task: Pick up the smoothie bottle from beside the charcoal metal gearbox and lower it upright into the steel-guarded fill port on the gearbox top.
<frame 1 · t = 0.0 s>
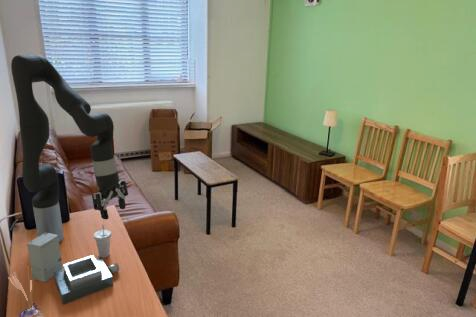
hand: (114, 213, 122), 22 cm above the table, tool pointing down, fingers open, 8 cm apart
smoothie: (104, 255, 135), on the table
gearbox: (84, 283, 119), on the table
skincare box: (48, 274, 123), on the table
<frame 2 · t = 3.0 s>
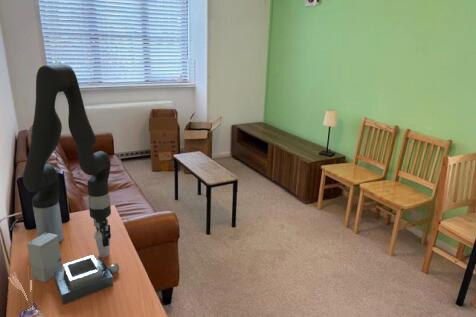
hand: (103, 241, 133), 6 cm above the table, tool pointing down, fingers closed on smoothie, 6 cm apart
smoothie: (104, 255, 135), on the table, touching gripper
everything else where it was.
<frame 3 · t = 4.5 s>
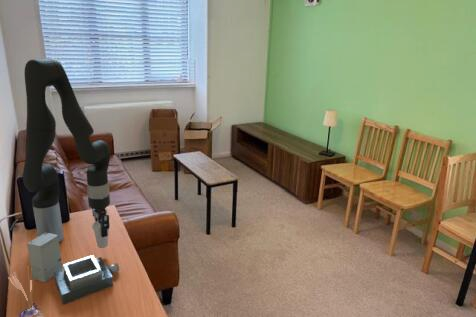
hand: (101, 232, 132), 10 cm above the table, tool pointing down, fingers closed on smoothie, 6 cm apart
smoothie: (102, 245, 134), point 4 cm above the table, touching gripper
everything else where it was.
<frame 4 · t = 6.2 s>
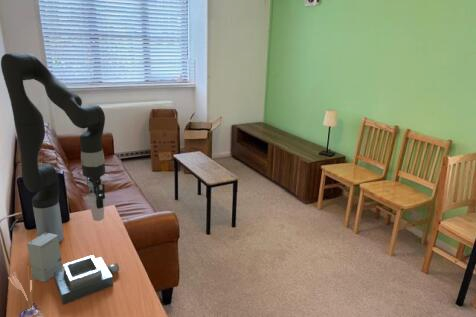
hand: (97, 203, 126), 24 cm above the table, tool pointing down, fingers closed on smoothie, 6 cm apart
smoothie: (98, 218, 128), point 17 cm above the table, touching gripper
everything else where it was.
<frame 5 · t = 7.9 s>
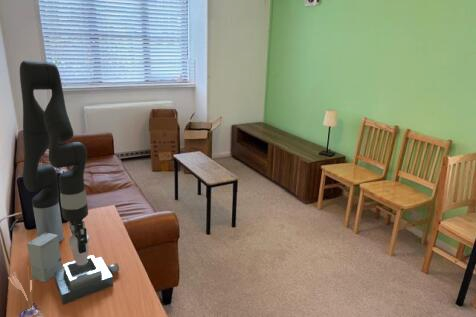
hand: (79, 247, 114), 15 cm above the table, tool pointing down, fingers closed on smoothie, 6 cm apart
smoothie: (81, 262, 116), point 9 cm above the table, touching gripper
everything else where it was.
when the fingers open (11 cm above the table, at t = 9.2 s): smoothie drops 1 cm, resting on gearbox.
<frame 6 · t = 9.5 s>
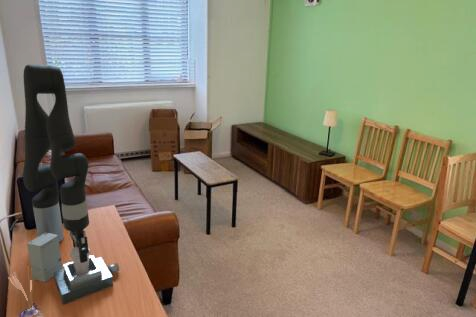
hand: (80, 255, 115), 12 cm above the table, tool pointing down, fingers open, 8 cm apart
smoothie: (82, 274, 118), point 4 cm above the table, touching gearbox
everything else where it was.
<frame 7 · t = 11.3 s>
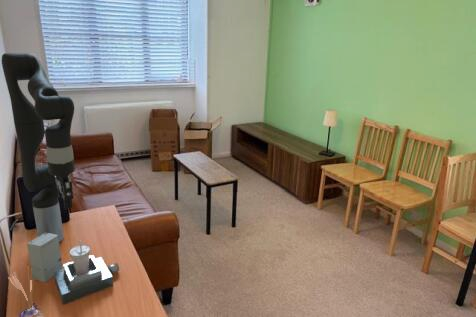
hand: (65, 202, 114), 29 cm above the table, tool pointing down, fingers open, 8 cm apart
nothing on the table moved.
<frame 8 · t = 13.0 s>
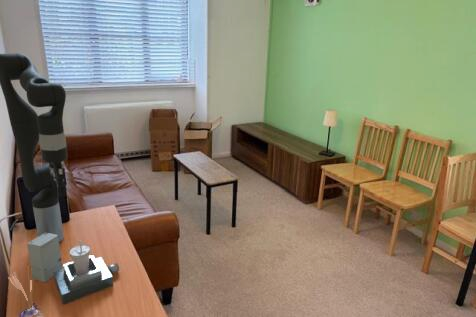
hand: (59, 190, 115), 32 cm above the table, tool pointing down, fingers open, 8 cm apart
nothing on the table moved.
at the end: smoothie 0.4 cm off-centre on the gearbox, point 3.8 cm above the gearbox's base; smoothie tilted 0°; the gripper is holding nothing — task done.
